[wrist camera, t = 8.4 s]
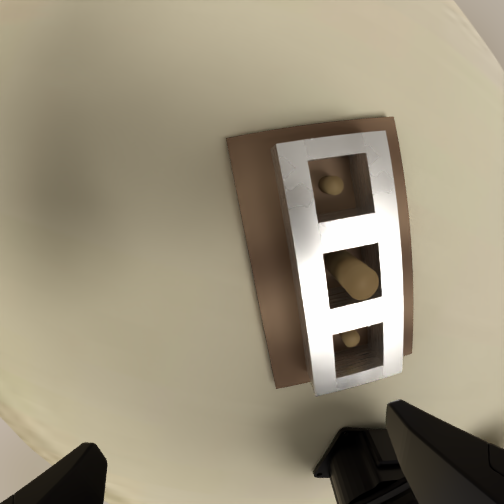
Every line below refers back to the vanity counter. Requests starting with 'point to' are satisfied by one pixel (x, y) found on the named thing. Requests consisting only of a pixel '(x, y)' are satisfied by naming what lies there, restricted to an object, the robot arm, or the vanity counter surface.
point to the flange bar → (338, 238)
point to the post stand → (335, 263)
